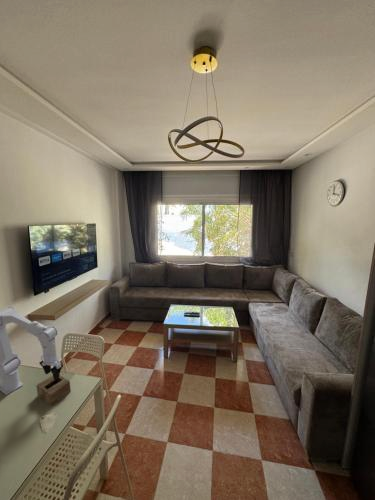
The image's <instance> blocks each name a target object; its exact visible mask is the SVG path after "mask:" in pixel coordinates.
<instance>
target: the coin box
mask: <svg viewBox="0 0 375 500" xmlns="http://www.w3.org/2000/svg"><path fill="white" fill-rule="evenodd" d="M56 383H57V384H56ZM55 384H56V385H55ZM53 385H54V386H53ZM52 386H53V387H52ZM50 387H51V388H50ZM49 388H50V389H49ZM36 392H37V396H38V397H39V398H40V399H42V400H43V401H45V402H46V403H47V404H48V405H50V406H53V405H54V404H55V403H57V402H58V401H59V400H61V399H62V398H64V397H65V396H67V395H68V394H69V393H70V392H71V382H70V380H68V379H66V377H63V376H61V374H60V375H59V378H58V379H56V380H54V378H53V374H52V375H50V376H49V377H47V378H46V379H44V380H42V381H41V382H39V383H38V384H36Z"/></svg>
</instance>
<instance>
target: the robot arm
mask: <svg viewBox="0 0 375 500" xmlns="http://www.w3.org/2000/svg"><path fill="white" fill-rule="evenodd" d="M11 323H12V324H15V325H18V326H21V327H23V328H25V329H26V332H27V333H28V334H31V335H32V336H34V337H36V338H37V339H38V341H39V343H40V346H41V349H42V354H41V355H40V360H41V361H39V362H38V363H39V365H40V366H41V367H42V369H43V371H44V374H45V375H49V374H50V373H51V374H52V375H53V378H54V380H56V379H58V378H59V375H60V376H61V371H62V369H63V366H64V364H63V363H61V362H60V360H59V357H58V355H57V354H58V353H57V352H58V351H57V345H56V343H57V342H56V336H57V335H58V329H57V328H55V327H54V326H52V325H50V326H48V325H47V326H46V325H44V324H42V323H40V322H39V321H36V320H33V321H31V320H29V319H28V318H27V317H25V316H24V315H22V314H20V313H19V310H18V309H17V308H15V307H13V306H8V307H6V308H4V309H2V310H0V391H1V393H3V394H4V395H6V396H7V395H9V394H11V393H12V392H14V391H15V390H17V389H19V388H21V387H22V386H24V383H23V382H21V380H20V375H19V368H20V366H21V364H22V360H21V358H20V357H19V355H18V353H16V352H13V351H12V350H13V349H12V347H11V342H10V339H9V335H8V330H7V328H6V325H8V324H11Z"/></svg>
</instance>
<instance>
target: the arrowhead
mask: <svg viewBox="0 0 375 500" xmlns="http://www.w3.org/2000/svg"><path fill="white" fill-rule="evenodd" d="M57 418H58V413H55V412H52V413H50V414H46V415H43V416H42V419H40V420H39V424H40V428H41V431H42V434H45V435H46V434H48V433H49V432H50V431H51V430H52V429H53V427H54V424H55V422H56V419H57Z"/></svg>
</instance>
